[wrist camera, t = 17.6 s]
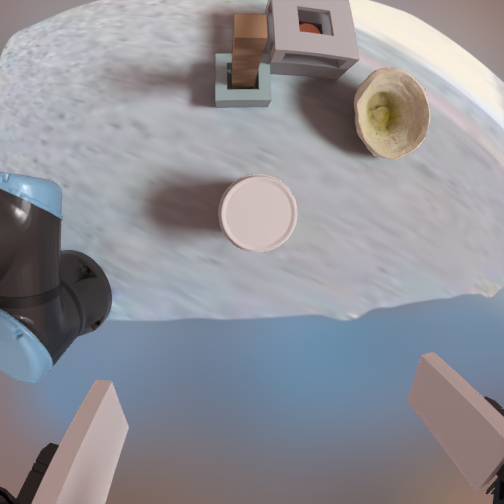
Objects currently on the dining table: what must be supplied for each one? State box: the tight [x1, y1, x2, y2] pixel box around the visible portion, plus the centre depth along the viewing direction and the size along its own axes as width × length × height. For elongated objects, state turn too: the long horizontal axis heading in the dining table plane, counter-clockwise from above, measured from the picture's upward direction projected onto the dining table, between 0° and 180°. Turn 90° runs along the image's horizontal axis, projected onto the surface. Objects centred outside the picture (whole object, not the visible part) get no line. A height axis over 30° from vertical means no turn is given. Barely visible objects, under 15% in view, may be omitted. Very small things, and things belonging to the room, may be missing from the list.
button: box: [299, 23, 320, 34], centre depth 37 cm, size 4×4×5 cm
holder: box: [215, 53, 271, 108], centre depth 39 cm, size 8×8×4 cm
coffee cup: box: [218, 174, 297, 253], centre depth 39 cm, size 9×9×12 cm
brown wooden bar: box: [231, 14, 268, 90], centre depth 31 cm, size 3×3×18 cm
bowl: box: [354, 68, 431, 160], centre depth 39 cm, size 15×14×10 cm
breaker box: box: [265, 0, 359, 80], centre depth 35 cm, size 12×12×10 cm
